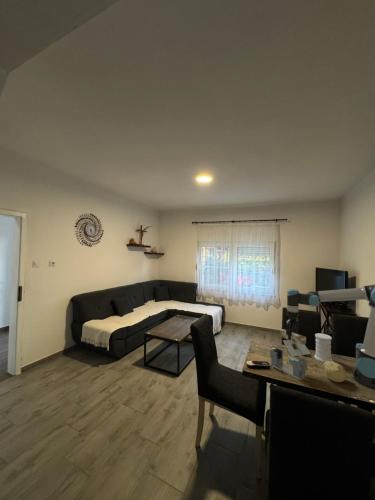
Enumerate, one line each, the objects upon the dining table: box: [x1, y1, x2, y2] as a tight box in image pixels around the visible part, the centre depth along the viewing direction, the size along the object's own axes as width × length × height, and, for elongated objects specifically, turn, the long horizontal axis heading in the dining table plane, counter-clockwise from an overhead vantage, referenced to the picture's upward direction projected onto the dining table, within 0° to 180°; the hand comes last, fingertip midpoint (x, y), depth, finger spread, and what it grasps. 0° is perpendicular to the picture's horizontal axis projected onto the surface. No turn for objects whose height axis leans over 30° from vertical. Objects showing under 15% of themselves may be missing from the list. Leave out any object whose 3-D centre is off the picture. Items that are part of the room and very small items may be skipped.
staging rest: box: [288, 357, 299, 365], centre depth 154 cm, size 10×4×3 cm, turn 35°
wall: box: [282, 339, 312, 357], centre depth 175 cm, size 16×9×15 cm
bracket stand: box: [269, 347, 308, 381], centre depth 146 cm, size 22×9×11 cm, turn 35°
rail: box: [279, 328, 307, 345], centre depth 151 cm, size 17×4×4 cm, turn 33°
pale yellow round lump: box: [322, 360, 347, 383], centre depth 137 cm, size 12×12×11 cm
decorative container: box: [314, 332, 333, 363], centre depth 163 cm, size 12×12×18 cm
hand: (292, 343), depth 151 cm, fingers closed on rail, 4 cm apart
